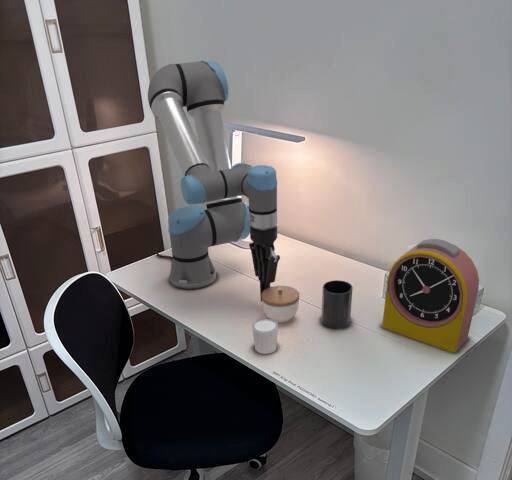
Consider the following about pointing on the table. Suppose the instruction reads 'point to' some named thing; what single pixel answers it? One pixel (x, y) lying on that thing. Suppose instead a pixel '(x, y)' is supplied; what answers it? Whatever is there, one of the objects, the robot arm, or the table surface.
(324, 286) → the pen cup
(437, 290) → the alarm clock
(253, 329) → the white cylinder
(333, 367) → the table surface
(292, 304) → the trinket box
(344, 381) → the table surface
